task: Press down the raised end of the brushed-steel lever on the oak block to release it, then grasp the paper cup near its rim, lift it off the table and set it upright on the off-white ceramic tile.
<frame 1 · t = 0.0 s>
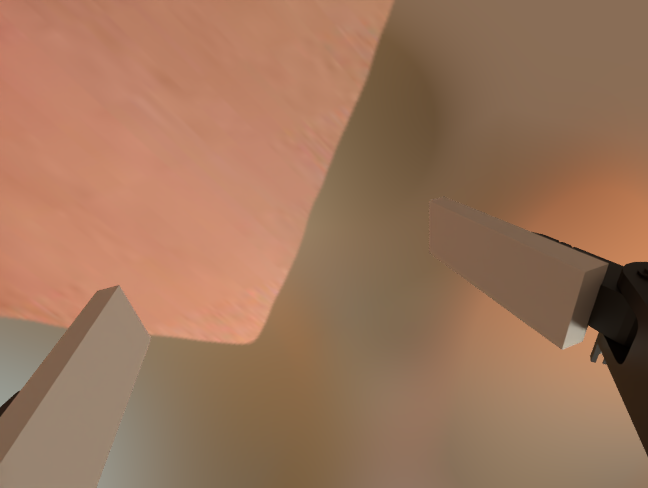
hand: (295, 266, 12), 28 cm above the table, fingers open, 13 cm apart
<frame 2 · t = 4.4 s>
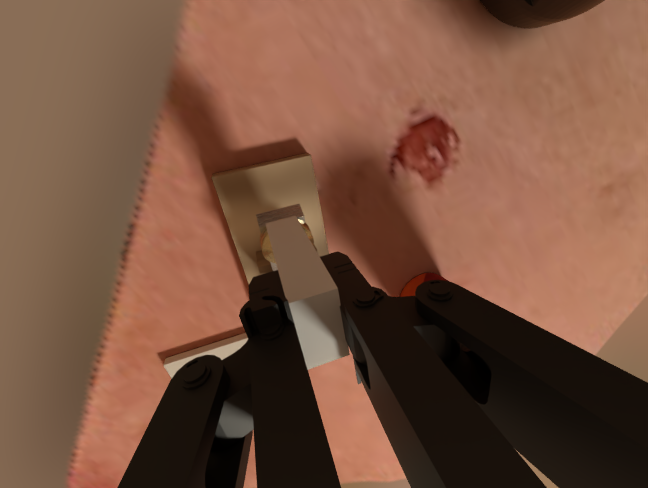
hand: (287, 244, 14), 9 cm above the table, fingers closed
tile: (245, 378, 29), on the table
lever base: (283, 246, 24), on the table
lever: (294, 279, 20), point 5 cm above the table, hinge at 25.0°, touching gripper
paper cup: (421, 294, 31), on the table
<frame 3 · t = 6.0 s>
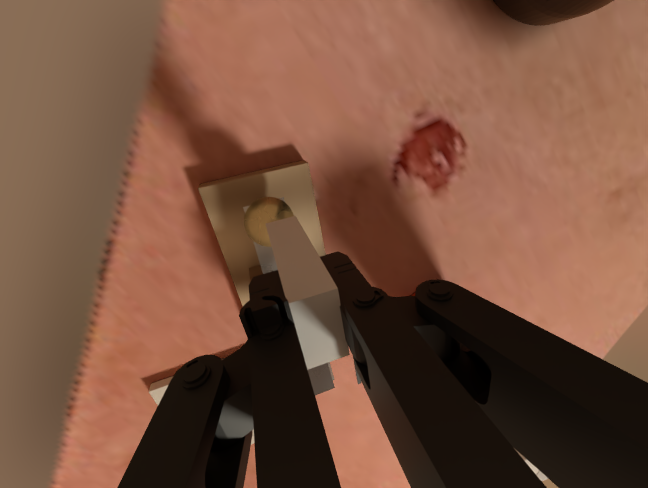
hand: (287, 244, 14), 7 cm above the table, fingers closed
tile: (238, 400, 27), on the table
lever base: (278, 261, 22), on the table
lever: (290, 296, 18), point 5 cm above the table, hinge at -20.1°
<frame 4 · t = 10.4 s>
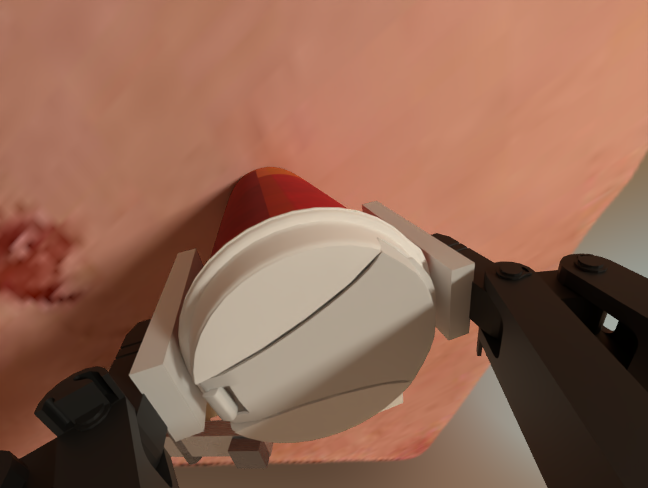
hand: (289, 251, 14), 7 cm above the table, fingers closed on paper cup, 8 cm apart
lever: (180, 444, 20), point 5 cm above the table, hinge at -20.2°
paper cup: (271, 206, 20), on the table, touching gripper
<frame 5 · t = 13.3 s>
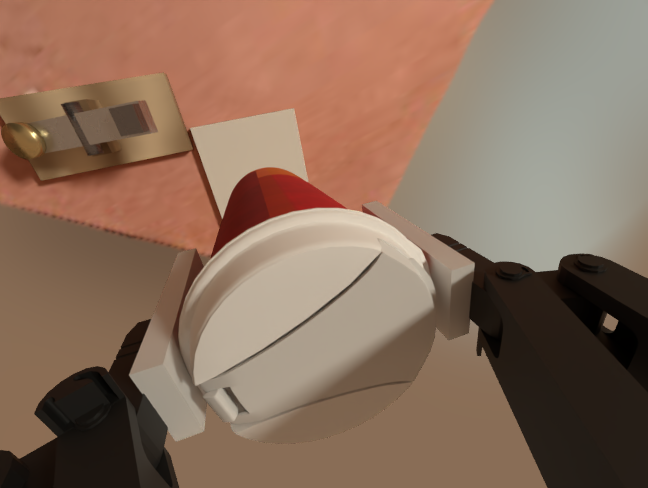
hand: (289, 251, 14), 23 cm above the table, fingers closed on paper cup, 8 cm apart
tile: (257, 168, 34), on the table
lever base: (106, 126, 28), on the table
lever: (79, 130, 24), point 5 cm above the table, hinge at -20.2°
paper cup: (272, 206, 20), point 15 cm above the table, touching gripper
when the fingers open (9 cm above the table, at t = 16.1 s): paper cup drops 1 cm, resting on tile.
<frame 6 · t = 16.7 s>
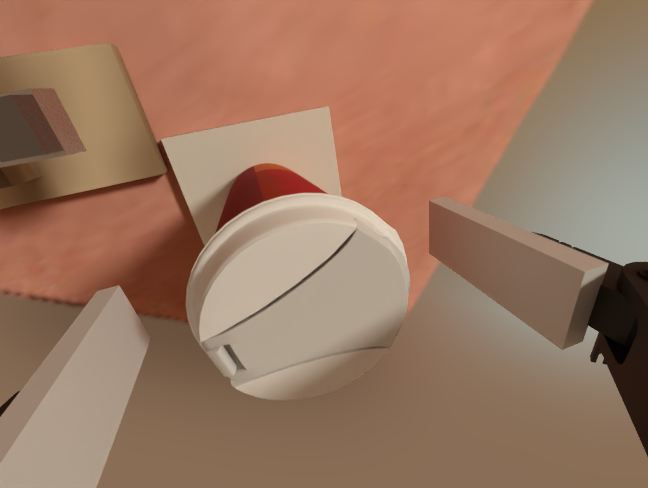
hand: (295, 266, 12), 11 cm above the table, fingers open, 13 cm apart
tile: (268, 198, 22), on the table
lever base: (16, 137, 17), on the table
paper cup: (269, 200, 21), point 1 cm above the table, touching tile
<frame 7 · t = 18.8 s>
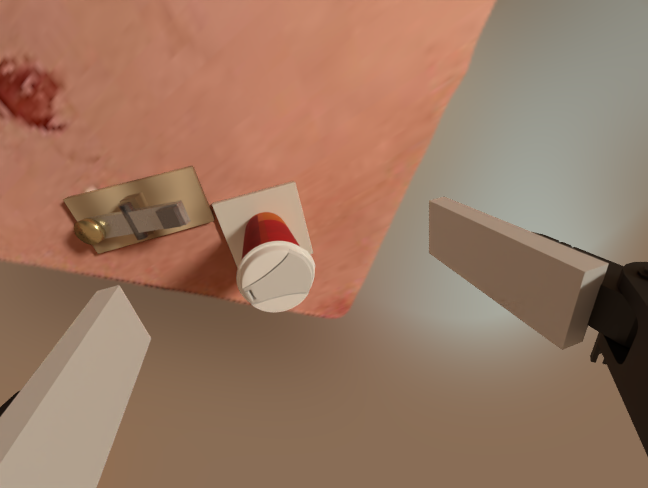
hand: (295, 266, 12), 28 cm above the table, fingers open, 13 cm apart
tile: (266, 228, 40), on the table
lever base: (146, 208, 35), on the table
lever: (131, 222, 31), point 5 cm above the table, hinge at -20.2°
paper cup: (266, 230, 40), point 1 cm above the table, touching tile
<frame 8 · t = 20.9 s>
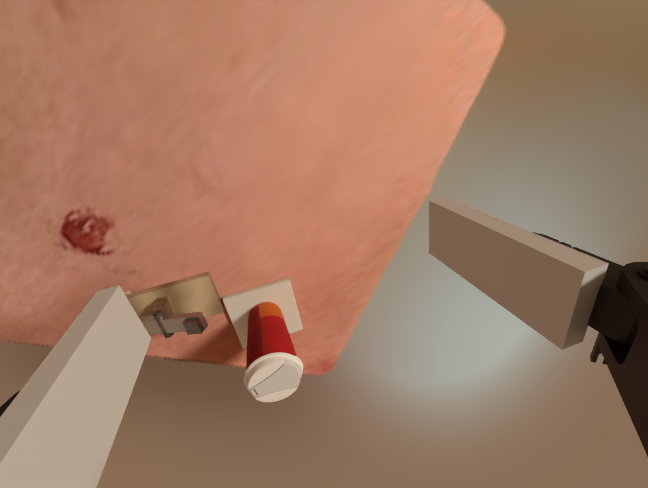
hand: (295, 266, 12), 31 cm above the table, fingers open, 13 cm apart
tile: (265, 312, 50), on the table
lever base: (170, 303, 44), on the table
lever: (161, 326, 40), point 5 cm above the table, hinge at -20.2°
paper cup: (265, 314, 49), point 1 cm above the table, touching tile
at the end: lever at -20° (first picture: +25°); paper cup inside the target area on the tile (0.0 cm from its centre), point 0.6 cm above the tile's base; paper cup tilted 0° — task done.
